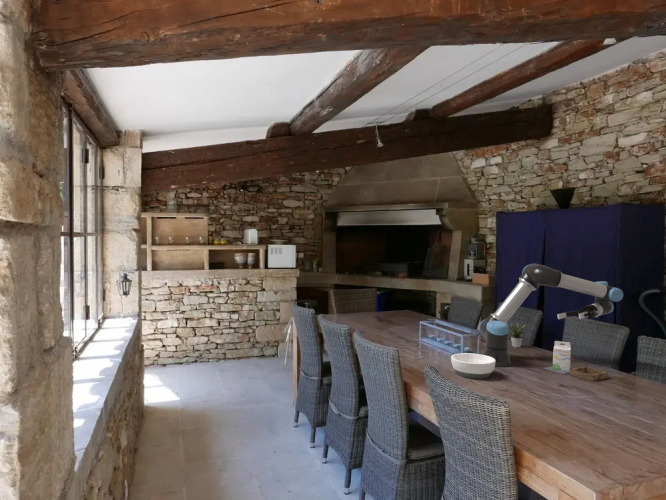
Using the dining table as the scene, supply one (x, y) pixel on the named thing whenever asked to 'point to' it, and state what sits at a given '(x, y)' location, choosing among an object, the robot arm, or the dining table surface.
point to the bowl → (473, 365)
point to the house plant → (516, 336)
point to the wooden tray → (588, 373)
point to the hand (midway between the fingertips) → (568, 316)
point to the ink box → (562, 356)
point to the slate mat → (557, 370)
